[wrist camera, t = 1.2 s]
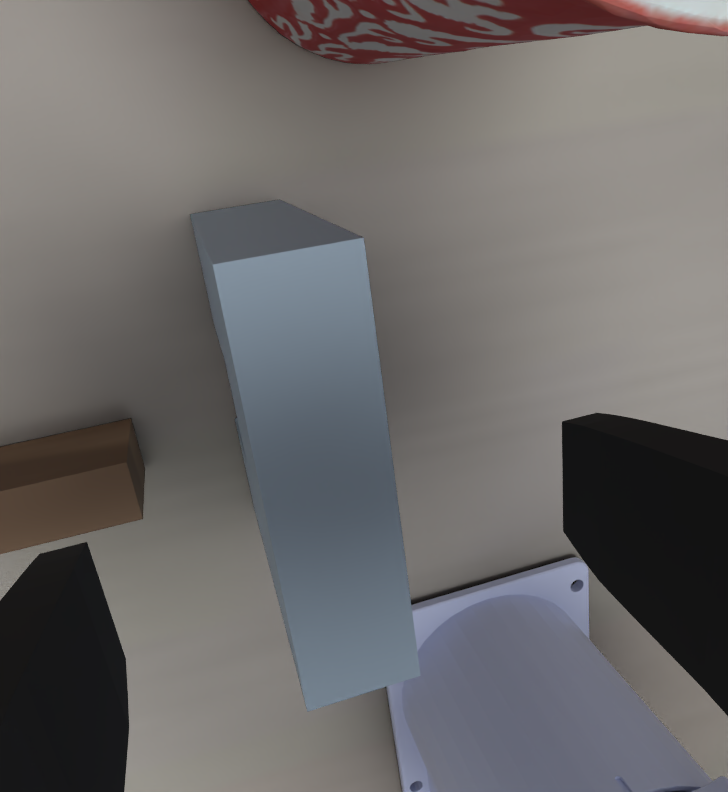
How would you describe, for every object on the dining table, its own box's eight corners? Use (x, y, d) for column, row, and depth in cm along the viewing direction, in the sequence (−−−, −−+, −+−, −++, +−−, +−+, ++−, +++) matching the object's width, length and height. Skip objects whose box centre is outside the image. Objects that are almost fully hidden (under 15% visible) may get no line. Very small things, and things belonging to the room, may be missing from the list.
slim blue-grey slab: (329, 490, 22) (420, 675, 14) (254, 509, 22) (307, 711, 14) (279, 199, 19) (363, 237, 11) (189, 214, 18) (212, 264, 11)
